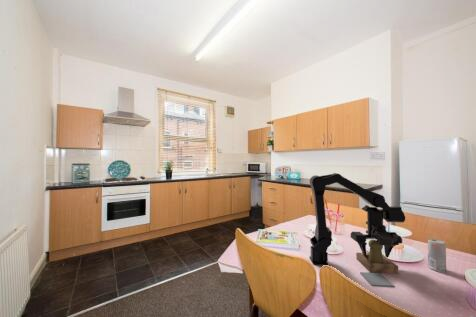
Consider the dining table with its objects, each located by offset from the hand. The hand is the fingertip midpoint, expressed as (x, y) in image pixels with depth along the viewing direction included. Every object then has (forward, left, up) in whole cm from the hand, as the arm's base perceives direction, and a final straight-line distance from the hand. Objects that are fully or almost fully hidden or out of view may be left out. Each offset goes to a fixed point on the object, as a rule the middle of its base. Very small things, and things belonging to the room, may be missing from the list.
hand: (375, 256), depth 85 cm
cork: (0, 0, -4) cm, 4 cm away
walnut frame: (0, 0, -4) cm, 4 cm away
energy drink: (+24, -1, -4) cm, 24 cm away
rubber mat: (-6, -11, -4) cm, 13 cm away
